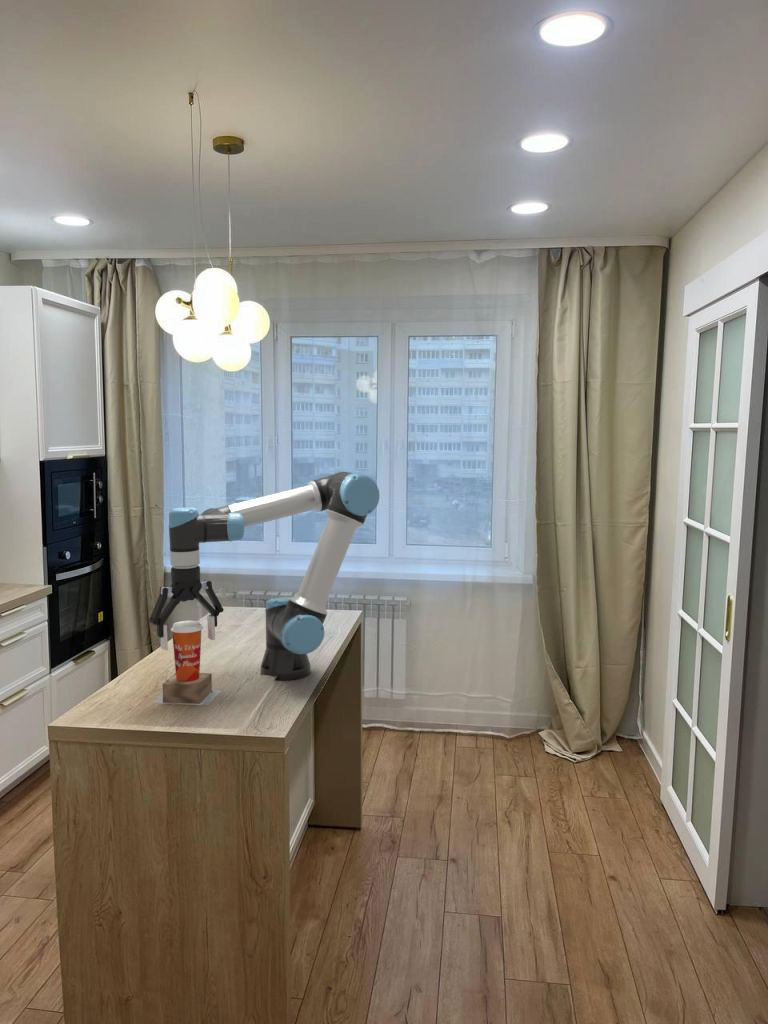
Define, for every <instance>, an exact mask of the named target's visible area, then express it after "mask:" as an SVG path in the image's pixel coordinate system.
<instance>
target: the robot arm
mask: <svg viewBox="0 0 768 1024" xmlns="http://www.w3.org/2000/svg"><path fill="white" fill-rule="evenodd" d="M379 501H380V489H379V487H378V484H377V483H376V481H375V480H374V479H372V477H370V476H368V475H365V474H363V473H362V472H361V473H360V472H349V471H340V472H337V473H333V474H329V475H327V476H323V477H320V478H318V479H313V480H311V481H309V483H308V485H305V486H300V487H295V488H291V489H288V490H284V491H280V492H276V493H272V494H268V495H263V496H260V497H259V496H258V497H257V498H252V499H248V500H244V501H240V502H236V503H231V504H228V505H225V506H224V505H223V506H220V507H215V508H214V507H208V508H206V509H203V510H201V512H200V513H199V511H198V509H197V508H196V507H176V508H172V509H170V510H169V513H168V536H169V554H170V556H169V557H170V558H169V559H170V560H169V561H170V566H171V568H170V579H171V585H170V586H169V587H167V586H166V587H165V586H160V587H159V594H158V595H159V596H158V597H157V600H156V602H155V604H154V608H153V610H152V612H151V614H150V617H149V620H148V622H149V623H150V624H152V625H156V636H157V637H158V638H159V639H160V648H161V649H162V650H163V651H167V650H168V649H169V648H168V647H169V645H168V642H169V641H168V625H167V624H165V623H166V622H167V620H168V619H169V617H170V616H171V615H172V613H173V611H174V610H175V608H176V607H177V606H178V605H179V604H180V603H181V602H187V601H194V600H196V601H197V602H198V603H199V604H200V605H201V606H202V607H203V608H204V609H205V611H207V612H208V613H209V614H207V615H206V616H207V620H206V621H207V639H209V640H211V641H215V640H216V627H218V617H219V615H220V613H223V612H224V607H223V606H222V604H221V602H220V600H219V598H218V596H217V595H216V593H215V591H214V589H213V584H212V583H213V582H212V581H211V580H208V579H204V580H203V581H201V567H200V564H201V563H200V562H201V561H200V559H201V557H200V543H201V544H202V543H204V544H205V543H215V542H216V543H218V542H233V541H239V540H240V541H241V540H242V539H243V538H244V535H245V528H249V527H253V526H256V525H260V524H263V523H268V522H271V521H275V520H280V519H282V518H286V517H290V516H294V515H298V514H302V513H305V512H309V511H316V512H323V511H326V513H327V517H328V518H327V521H326V523H325V526H324V527H323V530H322V533H321V535H320V537H319V540H318V542H317V545H316V548H315V550H314V553H313V554H312V558H311V559H310V563H309V564H308V567H307V569H306V572H305V574H304V577H303V580H302V582H301V584H300V587H299V589H298V592H297V594H296V595H294V596H290V597H289V596H288V597H287V596H285V597H276V598H270V599H268V600H267V601H266V603H265V609H264V610H265V651H264V655H263V658H262V660H261V664H260V666H259V667H260V676H269V677H275V679H274V680H275V681H276V680H277V681H288V680H289V681H291V680H297V679H300V678H301V679H302V678H304V677H306V676H308V675H309V674H311V672H312V671H311V662H310V659H309V657H308V654H310V653H312V652H315V651H316V650H317V649H318V648H319V647H320V646H321V644H322V642H323V641H324V638H325V626H324V623H325V621H326V618H327V616H328V611H327V609H326V604H327V601H328V599H329V597H330V594H331V592H332V589H333V586H334V584H335V581H336V579H337V576H338V575H339V572H340V569H341V566H342V564H343V562H344V559H345V557H346V554H347V551H348V549H349V548H350V545H351V541H352V540H353V537H354V534H355V532H356V530H357V529H358V528H360V527H362V526H364V524H365V521H366V519H367V516H368V515H370V514H371V513H373V512H374V510H376V509H377V507H378V505H379ZM201 589H203V590H204V591H205V593H206V595H207V596H208V598H209V600H210V602H211V604H212V605H211V604H210V602H208V601H207V599H205V597H204V595H202V594H201V593H200V591H201ZM170 593H171V594H172V595H171V596H170V599H169V601H168V603H167V604H166V602H167V599H168V597H169V595H170ZM165 605H166V606H165Z"/></svg>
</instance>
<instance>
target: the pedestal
mask: <svg viewBox="0 0 768 1024" xmlns="http://www.w3.org/2000/svg"><path fill="white" fill-rule="evenodd" d="M212 675H213V674H212V672H211V673H210V672H209V673H208V672H206V673H205V672H200V673H199V678H198V679H197V680H194V681H189V682H182V681H178V680H177V679H176V672H175V673H174V674H172V676H170V677H169V678H168V679H167V680H166V681H164V682H163V683H162V694H163V703H189V704H200V703H201V702H202V701H203V700H204V699H205V698H206V697H207V696H208V695H209V694H210V692H211V691H212V690H213V685H212V684H213V683H212V681H213V680H212V679H213V676H212Z"/></svg>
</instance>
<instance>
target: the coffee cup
mask: <svg viewBox="0 0 768 1024" xmlns="http://www.w3.org/2000/svg"><path fill="white" fill-rule="evenodd" d="M203 629H204V627H203V625H202V624H201V622H200V621H197V620H181V621H177V622H174V623H173V625H172V627H171V628H170V632H171V633H172V644H173V657H174V658H173V659H174V667H175V668H174V669H175V673H176V679H177V680H178V681H182V682H189V681H194V680H197V679H198V678H199V673H201V672H200V671H201V669H200V668H201V650H202V649H201V645H202V642H201V641H202V630H203Z"/></svg>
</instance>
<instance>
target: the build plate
mask: <svg viewBox="0 0 768 1024" xmlns="http://www.w3.org/2000/svg"><path fill="white" fill-rule="evenodd" d="M221 691H222V690H215V689H212V691H211V692H210V694H209V695H208V696H207V697H206V698H205V699H204V700H203V701H202V702H201V703H200V704H189V703H163V693H162V694H161V695H159V697H158V698H157V699H155V700H154V702H153V703H152V704H165V705H166V704H168V705H192V706H193V705H195V706H196V705H197V706H209V705H210V704H211V703H212V702H213V701H214V699H216V697H217V696H218V695H219V694H220V693H221Z"/></svg>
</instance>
